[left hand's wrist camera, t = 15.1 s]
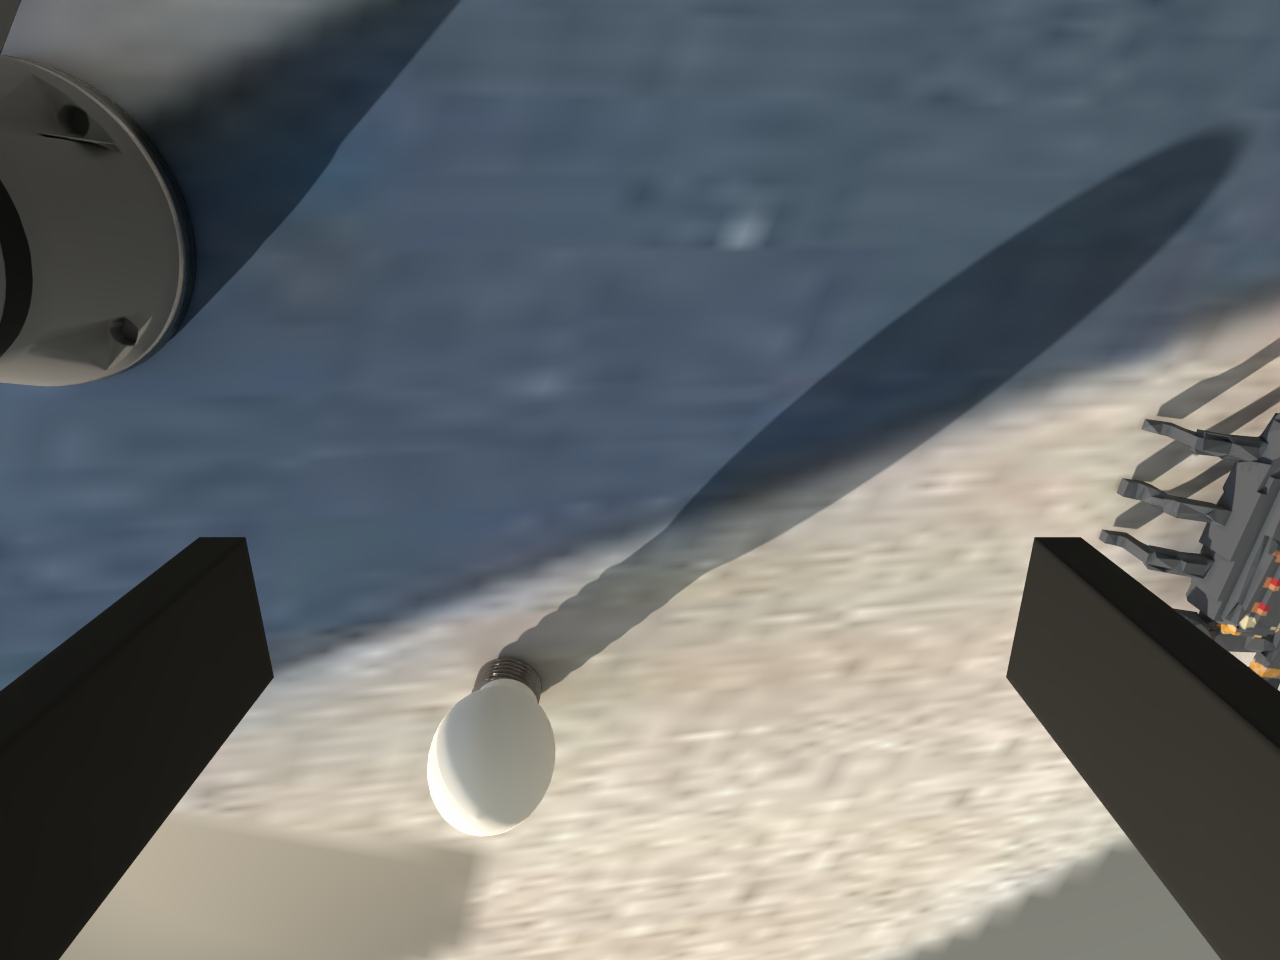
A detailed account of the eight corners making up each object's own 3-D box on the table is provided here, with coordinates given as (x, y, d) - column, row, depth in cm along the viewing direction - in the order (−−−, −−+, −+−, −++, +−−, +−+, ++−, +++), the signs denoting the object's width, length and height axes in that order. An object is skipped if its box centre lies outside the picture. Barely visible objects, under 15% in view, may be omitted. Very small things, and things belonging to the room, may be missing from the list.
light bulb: (437, 691, 47) (381, 828, 37) (497, 617, 46) (455, 740, 35) (526, 744, 49) (496, 890, 39) (587, 674, 47) (572, 808, 37)
